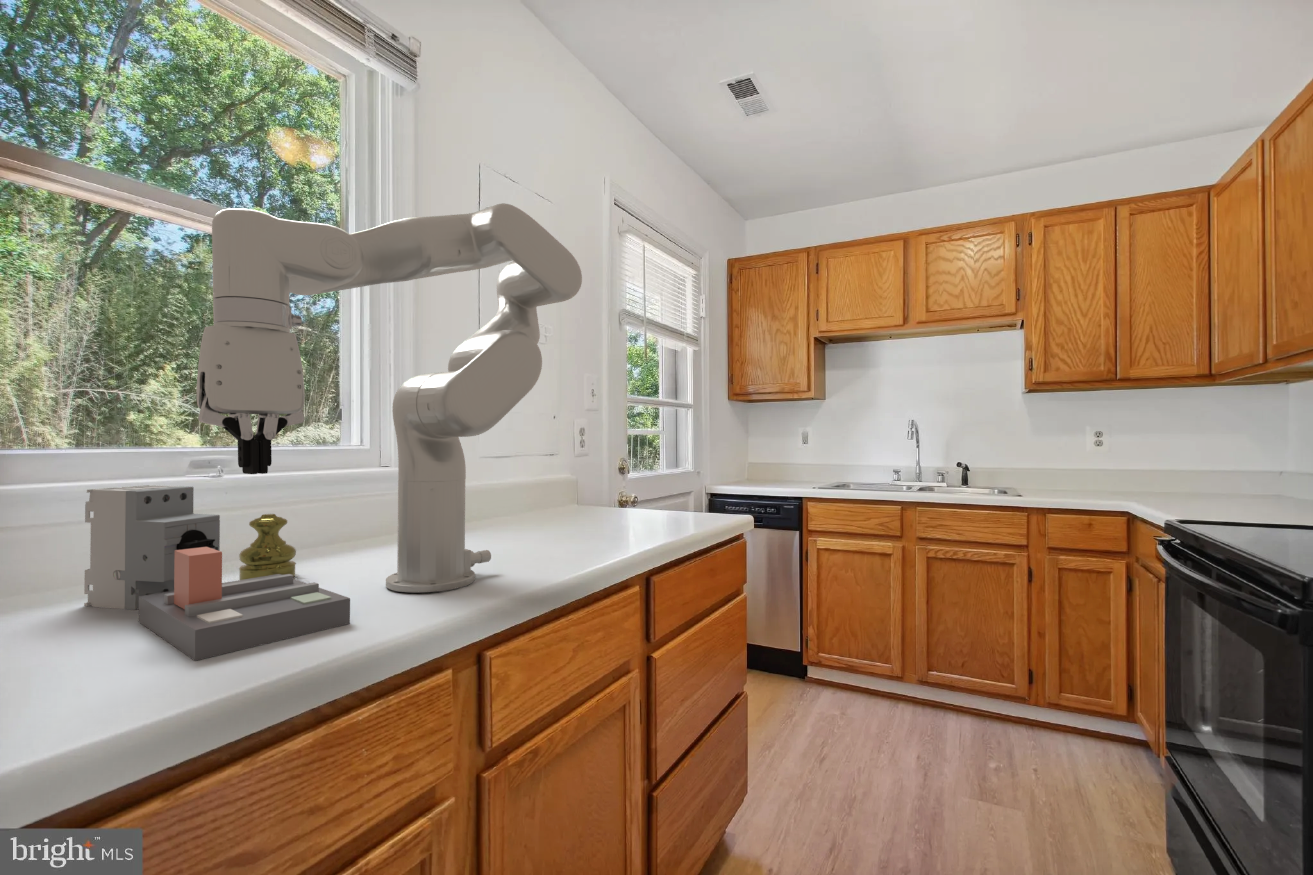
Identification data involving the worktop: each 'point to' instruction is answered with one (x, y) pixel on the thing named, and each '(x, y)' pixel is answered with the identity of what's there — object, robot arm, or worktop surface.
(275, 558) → the brass knob
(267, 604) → the breaker panel
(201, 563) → the handle
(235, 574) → the worktop surface
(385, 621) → the worktop surface
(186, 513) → the circuit breaker
